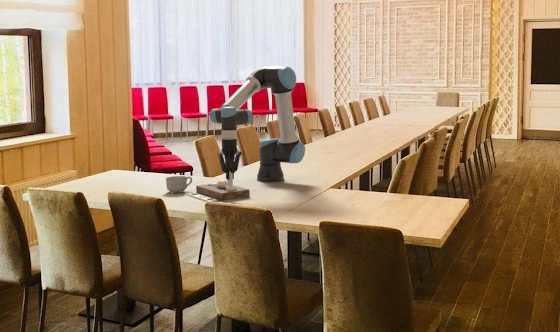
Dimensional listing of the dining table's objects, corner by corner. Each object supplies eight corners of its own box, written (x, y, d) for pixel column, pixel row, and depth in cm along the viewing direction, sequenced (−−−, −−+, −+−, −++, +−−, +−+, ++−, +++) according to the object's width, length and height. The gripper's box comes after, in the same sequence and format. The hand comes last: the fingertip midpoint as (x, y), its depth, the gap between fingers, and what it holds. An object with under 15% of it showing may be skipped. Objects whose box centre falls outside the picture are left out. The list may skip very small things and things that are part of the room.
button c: (232, 191, 365) (231, 185, 364) (236, 192, 361) (236, 186, 361) (224, 192, 362) (223, 186, 362) (228, 193, 359) (228, 187, 358)
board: (223, 189, 384) (223, 182, 383) (249, 197, 363) (249, 189, 362) (196, 193, 375) (196, 185, 374) (221, 201, 354) (221, 193, 353)
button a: (216, 188, 378) (216, 182, 378) (220, 189, 374) (220, 183, 374) (208, 189, 376) (208, 183, 375) (212, 190, 372) (212, 184, 371)
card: (196, 194, 373) (196, 192, 373) (217, 200, 355) (217, 199, 355) (187, 195, 370) (187, 193, 370) (208, 202, 352) (208, 200, 352)
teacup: (167, 194, 372) (166, 179, 371) (165, 190, 383) (164, 175, 382) (194, 192, 376) (194, 177, 375) (191, 189, 386) (191, 174, 385)
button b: (224, 185, 371) (223, 180, 371) (228, 187, 367) (228, 181, 367) (216, 186, 369) (215, 180, 368) (220, 188, 365) (220, 182, 364)
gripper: (236, 136, 364) (237, 183, 368) (213, 138, 357) (214, 186, 360) (244, 138, 358) (245, 185, 362) (221, 140, 351) (222, 188, 354)
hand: (230, 185), depth 361 cm, fingers closed
